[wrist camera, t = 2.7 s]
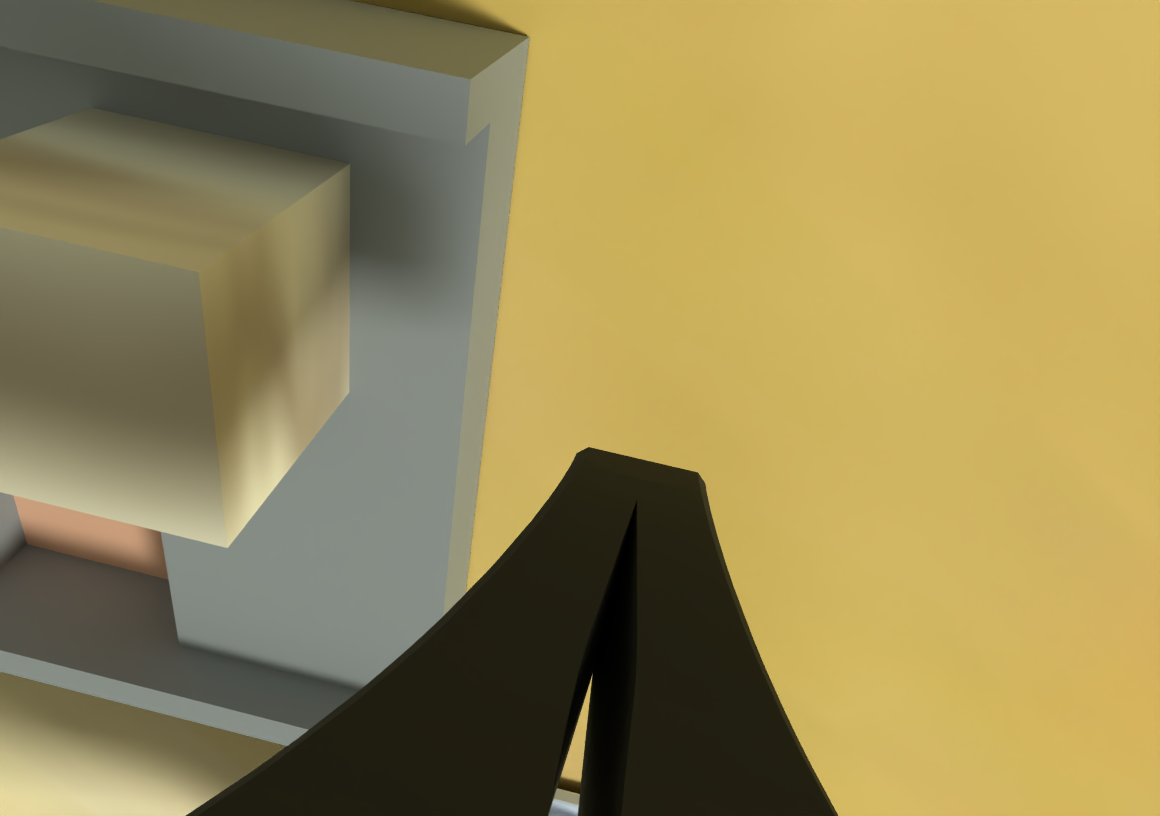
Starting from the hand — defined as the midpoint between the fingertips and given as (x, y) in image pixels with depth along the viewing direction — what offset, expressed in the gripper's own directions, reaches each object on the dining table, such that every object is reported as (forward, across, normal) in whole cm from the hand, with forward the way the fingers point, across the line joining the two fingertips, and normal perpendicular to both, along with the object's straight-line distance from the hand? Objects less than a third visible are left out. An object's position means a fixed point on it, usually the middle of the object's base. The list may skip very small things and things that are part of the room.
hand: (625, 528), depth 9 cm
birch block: (+4, +7, 0) cm, 8 cm away
